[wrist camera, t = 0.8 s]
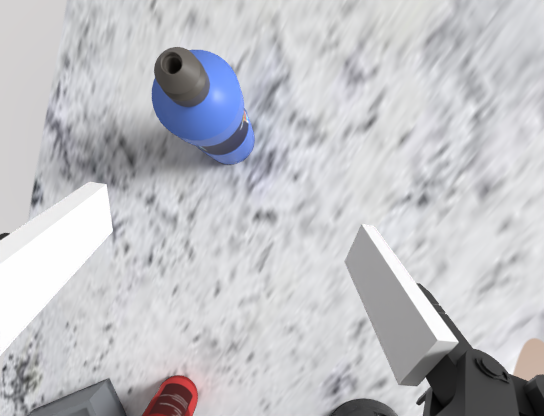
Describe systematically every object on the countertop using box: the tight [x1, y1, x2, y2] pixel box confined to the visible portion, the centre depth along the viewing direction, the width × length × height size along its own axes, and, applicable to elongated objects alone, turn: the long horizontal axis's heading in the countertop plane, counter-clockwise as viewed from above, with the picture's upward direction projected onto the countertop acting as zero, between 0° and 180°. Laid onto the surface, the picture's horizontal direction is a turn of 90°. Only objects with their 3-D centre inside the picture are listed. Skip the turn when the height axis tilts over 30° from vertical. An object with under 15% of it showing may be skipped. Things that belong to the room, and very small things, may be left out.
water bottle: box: [152, 47, 255, 164], centre depth 32 cm, size 9×9×25 cm
